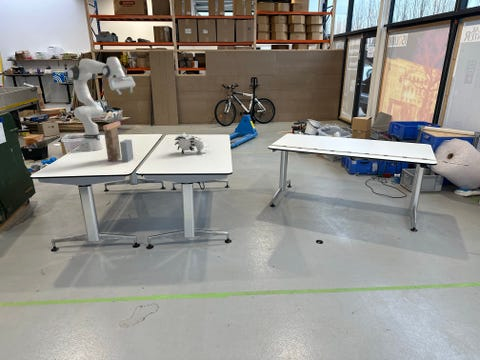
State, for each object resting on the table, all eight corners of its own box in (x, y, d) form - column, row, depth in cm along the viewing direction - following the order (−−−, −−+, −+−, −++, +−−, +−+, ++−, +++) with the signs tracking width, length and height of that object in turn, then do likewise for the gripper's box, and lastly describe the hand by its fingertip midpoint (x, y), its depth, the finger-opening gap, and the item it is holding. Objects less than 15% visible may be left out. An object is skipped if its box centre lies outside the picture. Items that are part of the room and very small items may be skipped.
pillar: (108, 161, 268) (103, 129, 260) (114, 157, 278) (110, 126, 269) (115, 161, 268) (111, 129, 259) (121, 158, 277) (117, 127, 268)
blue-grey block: (122, 161, 267) (119, 142, 261) (127, 158, 276) (125, 139, 271) (128, 162, 266) (125, 142, 261) (133, 158, 276) (131, 139, 270)
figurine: (208, 157, 289) (173, 154, 285) (208, 153, 304) (174, 149, 301) (210, 139, 284) (174, 135, 280) (210, 135, 299) (176, 131, 295)
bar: (103, 130, 257) (103, 126, 256) (117, 125, 277) (116, 121, 276) (107, 130, 256) (106, 126, 255) (120, 125, 277) (120, 121, 276)
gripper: (129, 77, 269) (136, 93, 270) (105, 79, 255) (112, 97, 257) (132, 73, 265) (139, 90, 266) (108, 76, 251) (116, 93, 252)
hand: (126, 93), depth 261 cm, fingers open, 8 cm apart
